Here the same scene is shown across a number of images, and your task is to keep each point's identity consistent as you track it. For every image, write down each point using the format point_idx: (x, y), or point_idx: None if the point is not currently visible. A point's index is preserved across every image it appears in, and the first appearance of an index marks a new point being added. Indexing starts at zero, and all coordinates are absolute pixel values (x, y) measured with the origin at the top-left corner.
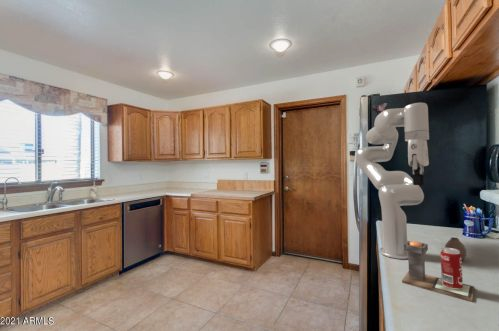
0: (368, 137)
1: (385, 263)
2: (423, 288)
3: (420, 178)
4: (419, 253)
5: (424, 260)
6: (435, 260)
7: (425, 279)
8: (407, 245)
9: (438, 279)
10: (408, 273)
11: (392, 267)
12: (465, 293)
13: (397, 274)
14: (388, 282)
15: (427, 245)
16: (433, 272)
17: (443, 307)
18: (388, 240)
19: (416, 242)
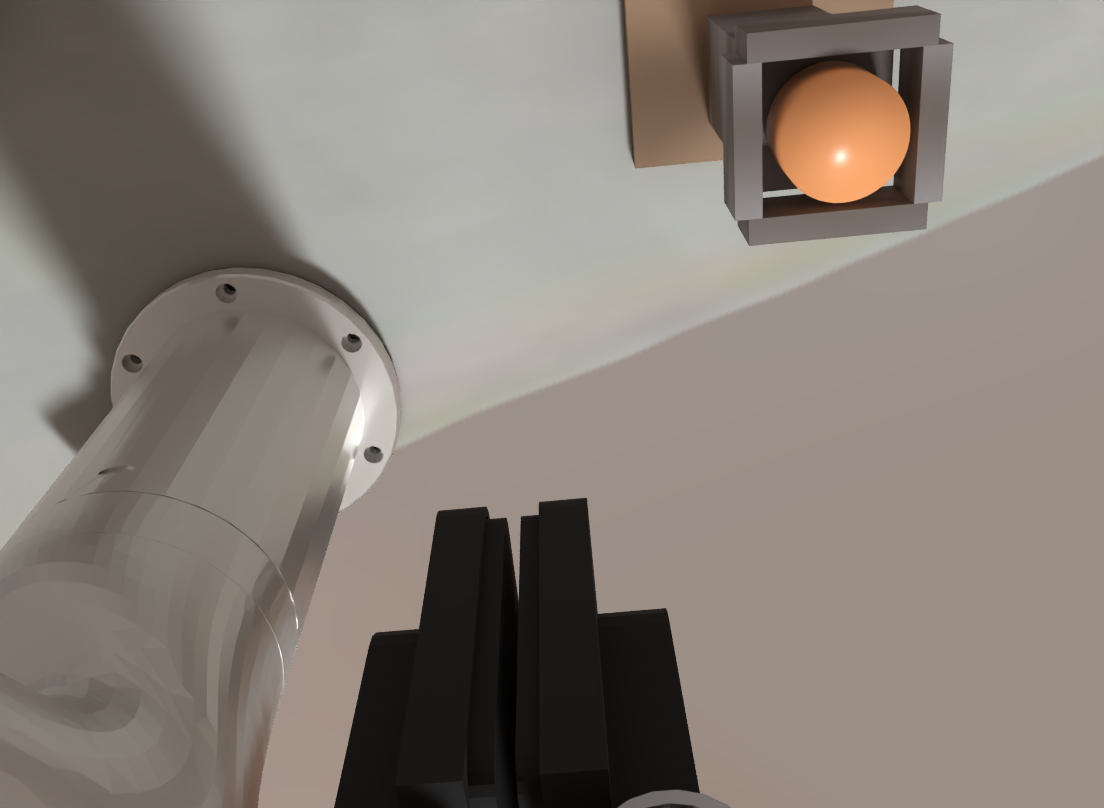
0: None
1: (565, 374)
2: None
3: (609, 709)
4: (887, 64)
5: (734, 39)
6: (125, 78)
7: (741, 4)
8: (941, 189)
9: None
10: (705, 151)
11: (613, 302)
12: None
13: (737, 221)
14: (943, 216)
15: (755, 30)
16: (467, 8)
17: None
18: (340, 497)
19: (822, 137)
